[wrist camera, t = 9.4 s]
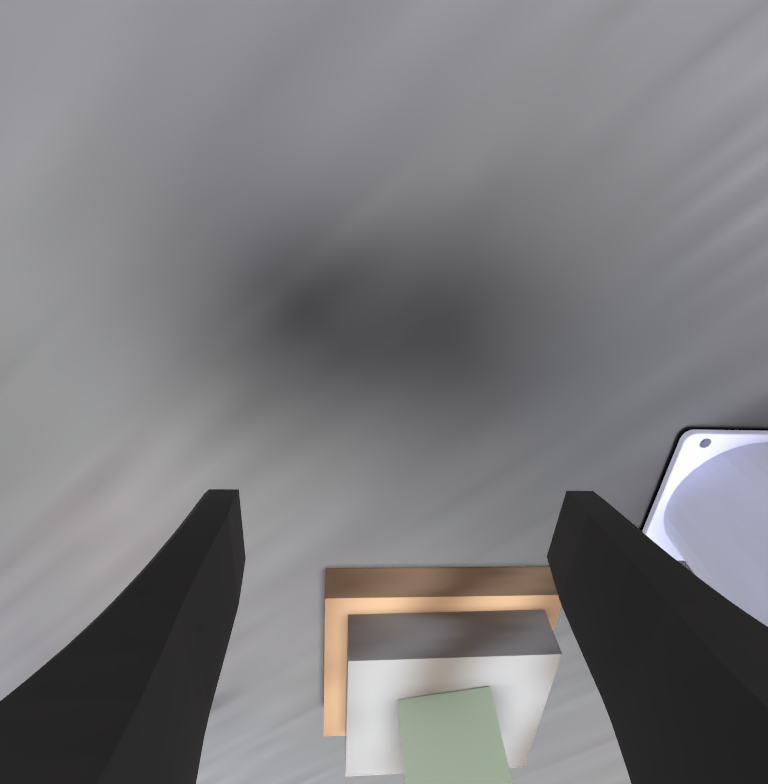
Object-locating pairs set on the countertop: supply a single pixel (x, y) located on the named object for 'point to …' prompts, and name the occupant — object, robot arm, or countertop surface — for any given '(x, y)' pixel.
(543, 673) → the tower top
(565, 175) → the countertop surface
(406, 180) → the countertop surface
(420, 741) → the green block
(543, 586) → the tower base
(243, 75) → the countertop surface
